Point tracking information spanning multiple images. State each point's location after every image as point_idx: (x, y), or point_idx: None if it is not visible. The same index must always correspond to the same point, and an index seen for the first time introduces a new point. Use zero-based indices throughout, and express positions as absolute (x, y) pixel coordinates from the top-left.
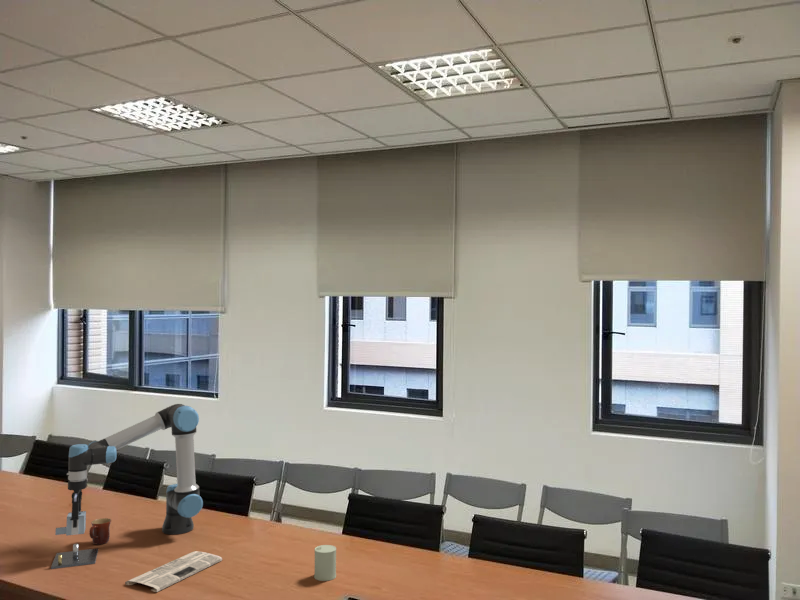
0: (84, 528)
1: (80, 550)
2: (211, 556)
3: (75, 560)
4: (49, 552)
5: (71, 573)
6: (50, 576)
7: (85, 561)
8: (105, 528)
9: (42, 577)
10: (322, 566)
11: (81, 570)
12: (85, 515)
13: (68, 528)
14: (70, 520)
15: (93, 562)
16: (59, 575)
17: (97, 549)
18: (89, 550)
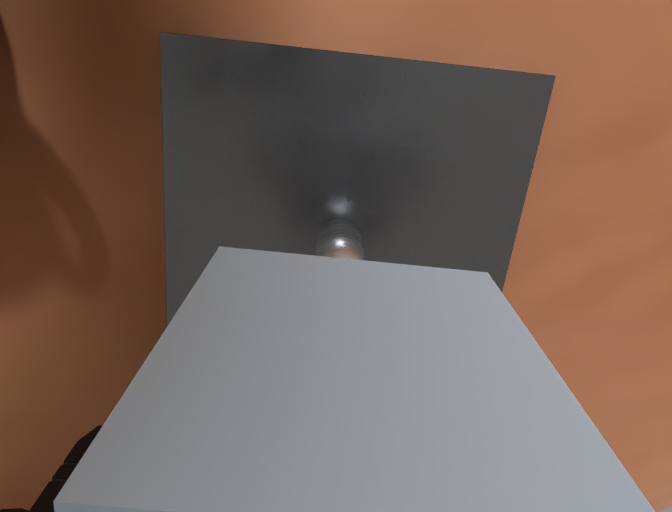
0: (435, 295)
1: (168, 200)
2: None
3: (430, 241)
4: (85, 403)
5: (660, 262)
6: (621, 387)
7: (504, 162)
8: None
9: (605, 427)
10: None
11: (644, 191)
12: (262, 428)
13: None
14: None
15: (546, 90)
16: (643, 337)
17: (199, 41)
18: (200, 121)
